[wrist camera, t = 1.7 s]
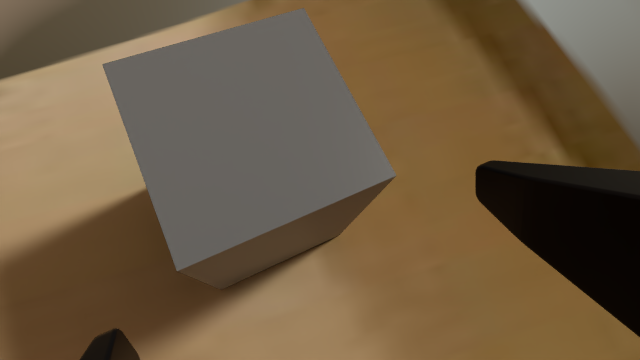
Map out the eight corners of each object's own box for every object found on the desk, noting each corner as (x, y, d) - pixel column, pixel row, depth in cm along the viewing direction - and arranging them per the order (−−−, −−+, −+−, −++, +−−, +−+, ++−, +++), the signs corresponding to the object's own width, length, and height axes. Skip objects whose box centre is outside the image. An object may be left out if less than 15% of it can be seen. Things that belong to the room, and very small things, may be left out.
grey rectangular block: (339, 235, 20) (396, 175, 11) (221, 289, 18) (176, 271, 9) (289, 132, 22) (303, 8, 13) (176, 173, 20) (102, 64, 11)
